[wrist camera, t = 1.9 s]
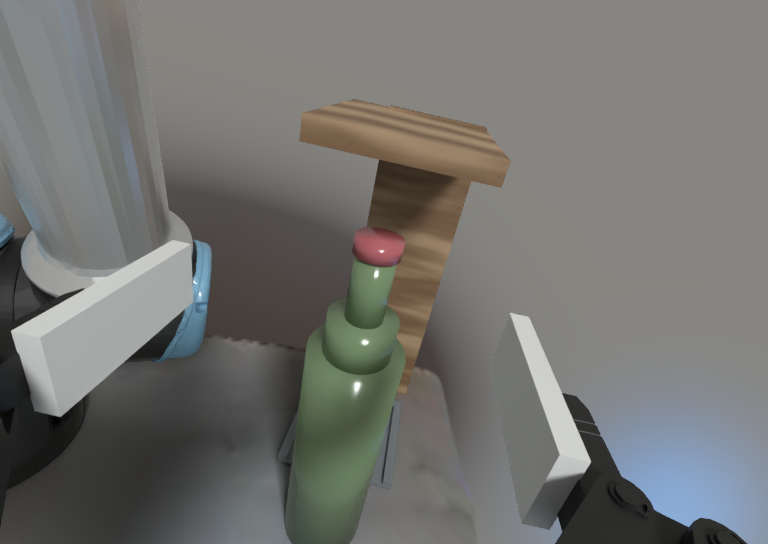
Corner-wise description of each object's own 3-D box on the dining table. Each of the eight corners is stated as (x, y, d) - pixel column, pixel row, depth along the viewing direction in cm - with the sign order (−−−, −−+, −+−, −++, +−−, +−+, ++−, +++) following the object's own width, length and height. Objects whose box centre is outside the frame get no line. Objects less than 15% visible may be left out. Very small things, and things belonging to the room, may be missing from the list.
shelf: (394, 494, 42) (511, 157, 25) (271, 463, 43) (302, 109, 25) (406, 384, 57) (485, 126, 40) (315, 362, 58) (354, 97, 40)
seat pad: (390, 489, 43) (391, 483, 42) (277, 460, 43) (277, 454, 42) (400, 406, 53) (401, 401, 53) (309, 384, 54) (310, 379, 53)
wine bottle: (268, 517, 38) (295, 226, 23) (322, 467, 43) (372, 207, 29) (321, 577, 34) (392, 280, 20) (372, 514, 40) (458, 247, 25)
